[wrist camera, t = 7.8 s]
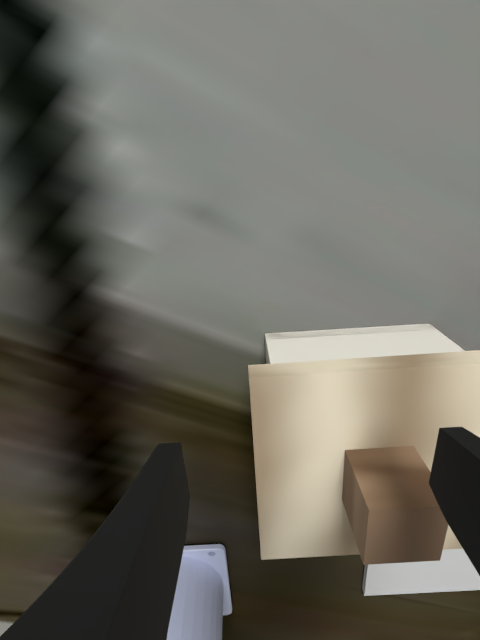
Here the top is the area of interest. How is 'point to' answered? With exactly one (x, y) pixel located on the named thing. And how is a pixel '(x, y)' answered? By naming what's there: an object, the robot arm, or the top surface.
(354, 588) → the top surface
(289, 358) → the white box
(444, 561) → the mat
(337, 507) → the lid
